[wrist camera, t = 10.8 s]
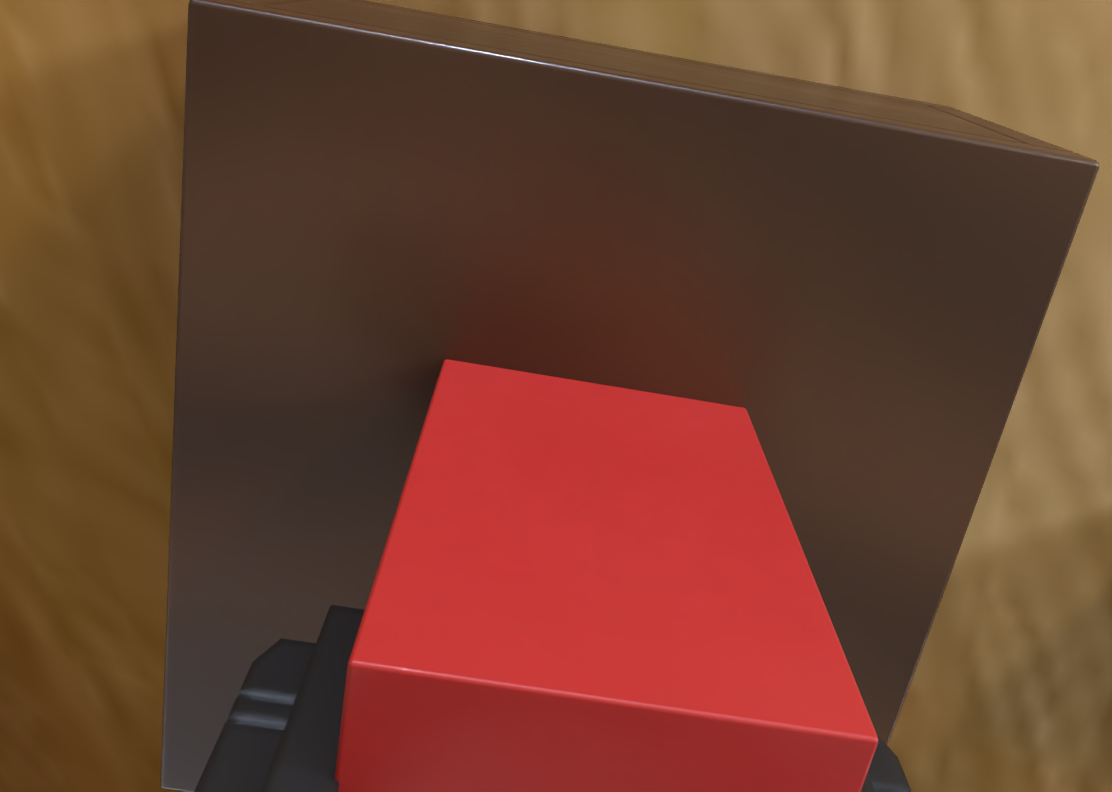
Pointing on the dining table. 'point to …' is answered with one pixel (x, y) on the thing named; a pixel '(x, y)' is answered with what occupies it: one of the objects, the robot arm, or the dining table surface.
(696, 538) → the block
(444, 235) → the cabinet
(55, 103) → the dining table surface
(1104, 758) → the dining table surface
